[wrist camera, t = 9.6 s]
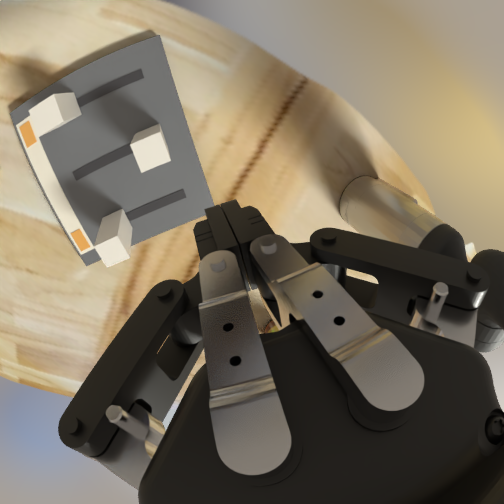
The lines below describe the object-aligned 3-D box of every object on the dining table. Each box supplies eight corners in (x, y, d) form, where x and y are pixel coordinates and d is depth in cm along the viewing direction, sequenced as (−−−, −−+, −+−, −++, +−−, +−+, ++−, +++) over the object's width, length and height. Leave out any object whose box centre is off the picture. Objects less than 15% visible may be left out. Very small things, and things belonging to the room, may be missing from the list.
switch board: (159, 37, 24) (159, 34, 22) (214, 206, 38) (216, 211, 37) (14, 111, 21) (9, 113, 20) (88, 260, 36) (86, 267, 34)
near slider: (73, 92, 22) (53, 93, 17) (81, 114, 24) (63, 121, 19) (52, 104, 22) (28, 110, 16) (60, 126, 24) (38, 137, 18)
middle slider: (159, 123, 28) (160, 131, 23) (167, 146, 30) (171, 160, 24) (135, 133, 28) (129, 144, 22) (143, 156, 30) (141, 172, 24)
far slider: (122, 208, 32) (117, 235, 26) (132, 227, 34) (129, 257, 28) (102, 217, 32) (93, 246, 26) (112, 236, 33) (107, 267, 28)
